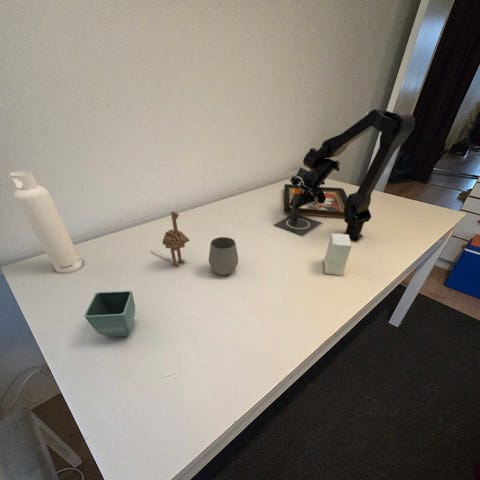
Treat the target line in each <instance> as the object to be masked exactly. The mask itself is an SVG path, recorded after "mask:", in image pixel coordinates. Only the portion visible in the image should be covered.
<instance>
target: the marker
mask: <svg viewBox="0 0 480 480" xmlns="http://www.w3.org/2000/svg"><path fill="white" fill-rule="evenodd" d="M301 193H302V189H298V188H296V189H294V194H293V202H292V211H291V213H290V216H291V219H290V222H291V223H297V220H298V215H299V214H298V213H299V208H297V209H295V208H294V207H295V205H296V204H297V202H298V201H299V200H300V198H301Z"/></svg>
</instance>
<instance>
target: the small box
mask: <svg viewBox="0 0 480 480" xmlns="http://www.w3.org/2000/svg"><path fill="white" fill-rule="evenodd" d="M351 249H352V243H351V240H350V238H349V235H346V234H343V233H337V232H336V233H335V232H331V233H330V237H329V241H328V244H327V249H326V252H325V256H324V259H323V264H324V266H323V267H324V274H327V275H328V274H329V275H338V276H342V275H343V273H344V270H345V267H346V264H347V262H348V258H349V256H350V252H351Z"/></svg>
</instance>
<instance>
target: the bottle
mask: <svg viewBox="0 0 480 480" xmlns="http://www.w3.org/2000/svg"><path fill="white" fill-rule="evenodd" d="M9 176H10V178H11V179H12V181H13V183H14V185H15V187H16V189H15V190H14V193H13V198H14V200H15V202H16V204H17V205H18V207H19V209H20V210H21V212H22V214H23V216H24V218H25V219H26V221H27V222H28V224H29V226H30V228H31V230H32V231H33V233H34V235H35V237H36V238H37V240H38V242H39V244H40V245H41V247H42V249H43V250H44V252H45V254H46V256H47V258H48V259H49V261H50V263H51V264H52V266H53V268H54V270H55V271H56V272H57V273H59V274H60V273H61V274H68V273H72V272H75V271H77V270H78V269H80V268H81V267H82V266H83V261H82V260H81V257H80V255H79V253H78V251H77V249H76V247H75V244H74V243H73V240H72V238H71V236H70V234H69V232H68V230H67V227H66V226H65V224H64V221H63V220H62V217H61V215H60V213H59V210H58V209H57V207H56V205H55V203H54V201H53V198H52V196H51V194H50V192H49V191H48V189H47V188H45V187H44V186H42V185H39V184H38V183H37V180H36V179H35V177H34V174H33V173H32V171H31V170H25V169H24V170H16V171H13V172H11V173H9Z"/></svg>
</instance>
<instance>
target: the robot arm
mask: <svg viewBox="0 0 480 480" xmlns="http://www.w3.org/2000/svg"><path fill="white" fill-rule="evenodd" d="M415 120H416V119H415V116H414V115H413V114H411V113H402V114H401V113H397V112H392V111H388V110H385V109H384V108H374V109H372V110H371V111H369V112H368V113H367V114H366V115H365V116H363V117H362V118H360V119H359V120H358V121H357V122H355V123H353V125H351V126H350V127H348V128H347V129H346V130H345V131H343V132H341V133H340V134H338V135H335V136H332V137H330V138H328V139H325V140H324V141H323V142H322V143H321V146H320V147H319V148H318V149H316V148H314V147H311V148H309V151H308V152H307V153H306V154H305V156H304V157H303V161H302V163H303V166H305V167H306V168H308V169H309V170H307V169H305V168H303V167H299V169H298V171H297V172H296V175H294V176H292V177H291V178H290V179H289V182H290V183H291V185H293V186H294V187H295V189H296V188H298V189H302V193H301V198H300V200H299V201H298V202H297V204H296V205H295V207H294V208H295V209H297V208H299V207H301V206H303V205H305V204H308V203H310V202H315V200H314V199H315V198H316V197H318V200H317V201H318V202H319V203H321V204H323V202H324V201H325V200H326V195H325V194H324V192H323V190H322V189H320V188H318V187H321V186H324V185H325V184H326V182H325V181H326V179H327V178H328V177H329V176H330V175H331V174H332V173H333V171H336V172H340V165H341V163H340V161H339V160H334V159H331V158H335V157H339V156H340V155H342V154H343V153H344V152H345V151H346V149H347V148H348V146H349V145H351V144H352V143H353V142H355V141H357V140H358V139H360V138H361V137H363V136H364V135H366V134H368V132H370V131H372V130H373V129H375V130H376V131H378V132H380V135H379V147H378V148H377V151H376V154H375V155H374V157H373V159H372V161H371V163H370V165H369V167H368V169H367V171H366V173H365V175H364V178H363V179H362V181H361V183H360V185H359V186H358V189H357V191H356V192H353V193H350V194H349V195H347V198H348V199H347V201H346V203H345V204H344V205H345V207H344V211H345V218H344V223H346V228H345V231H344V233H342V234H346V235H349V238H350V241H352V242H358V241H359V240H360V239H361V238H363V234H361V233H362V232H363V231H362V230H363V228H364V225H365V223H367V222H370V220H371V219H372V214H371V210H369V207H370V205H371V201H372V197H371V196H372V194H373V191H374V190H375V188H376V186H377V184H378V183H379V181H380V179H381V178H382V176H383V173H384V171H385V170H386V168H387V166H388V165H389V163H390V161H391V159H392V158H393V156H394V154H395V152H396V151H397V150H398V149H399V148H400V147H401V146H402V145H403V144H404V143H405V141H407V139H408V138H409V136H410V135H411V133H412V132H413V131H414V129H415V126H416V121H415ZM303 192H304V194H303ZM292 202H293V198H292V200H291V203H290V205H291V206H292Z"/></svg>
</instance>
